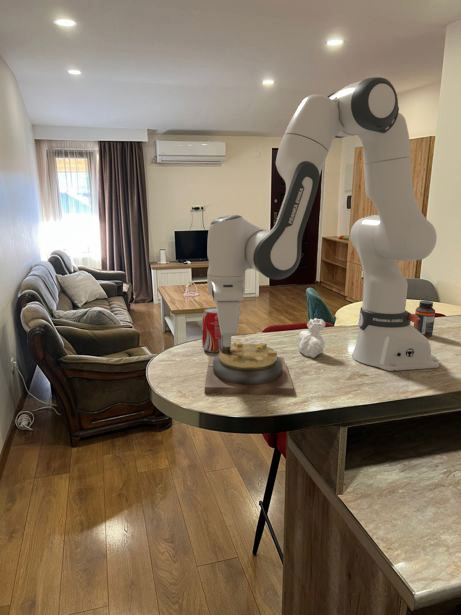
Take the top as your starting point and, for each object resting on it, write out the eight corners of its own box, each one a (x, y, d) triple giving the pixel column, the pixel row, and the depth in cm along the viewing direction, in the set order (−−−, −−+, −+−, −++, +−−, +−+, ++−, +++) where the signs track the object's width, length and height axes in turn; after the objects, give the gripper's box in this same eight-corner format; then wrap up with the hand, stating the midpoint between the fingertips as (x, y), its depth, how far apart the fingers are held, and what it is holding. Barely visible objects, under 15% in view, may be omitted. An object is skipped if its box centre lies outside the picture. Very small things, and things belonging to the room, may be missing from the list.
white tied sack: (321, 367, 121) (345, 334, 121) (302, 353, 118) (327, 320, 118) (301, 353, 132) (323, 323, 132) (284, 340, 129) (306, 309, 129)
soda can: (203, 345, 131) (203, 306, 128) (226, 346, 131) (227, 307, 128) (201, 353, 124) (200, 312, 121) (225, 354, 124) (226, 313, 121)
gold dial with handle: (224, 349, 115) (224, 316, 113) (277, 352, 113) (278, 319, 111) (214, 369, 101) (214, 332, 99) (275, 373, 99) (276, 335, 97)
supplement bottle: (409, 332, 147) (412, 299, 144) (426, 332, 147) (429, 299, 145) (418, 338, 141) (422, 303, 138) (436, 337, 142) (440, 303, 139)
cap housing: (283, 362, 118) (283, 348, 117) (293, 394, 98) (294, 377, 97) (209, 361, 118) (209, 347, 117) (204, 393, 98) (204, 376, 97)
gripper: (211, 278, 112) (211, 330, 116) (214, 295, 93) (214, 356, 96) (235, 278, 113) (235, 329, 116) (244, 294, 93) (243, 356, 96)
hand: (226, 342), depth 106 cm, fingers open, 4 cm apart
